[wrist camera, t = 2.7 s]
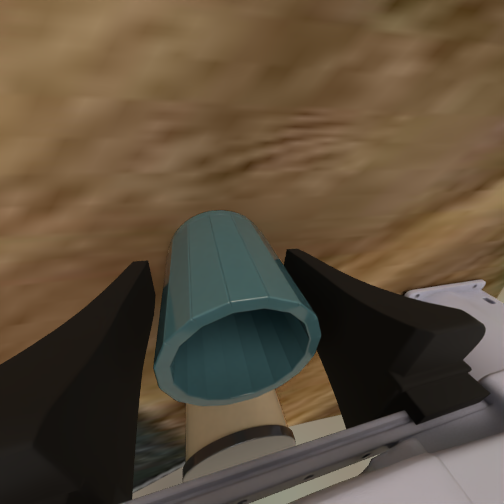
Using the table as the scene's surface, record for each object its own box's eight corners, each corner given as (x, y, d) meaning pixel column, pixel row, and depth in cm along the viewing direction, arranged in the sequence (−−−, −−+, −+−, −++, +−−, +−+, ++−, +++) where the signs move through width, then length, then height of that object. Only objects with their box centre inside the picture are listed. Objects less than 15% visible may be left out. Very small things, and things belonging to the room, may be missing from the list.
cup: (268, 208, 12) (339, 287, 6) (259, 285, 14) (304, 386, 9) (161, 211, 10) (136, 314, 5) (174, 295, 13) (167, 421, 8)
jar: (280, 359, 20) (305, 423, 16) (269, 406, 24) (287, 466, 20) (177, 381, 17) (175, 463, 13) (187, 429, 22) (188, 501, 18)
